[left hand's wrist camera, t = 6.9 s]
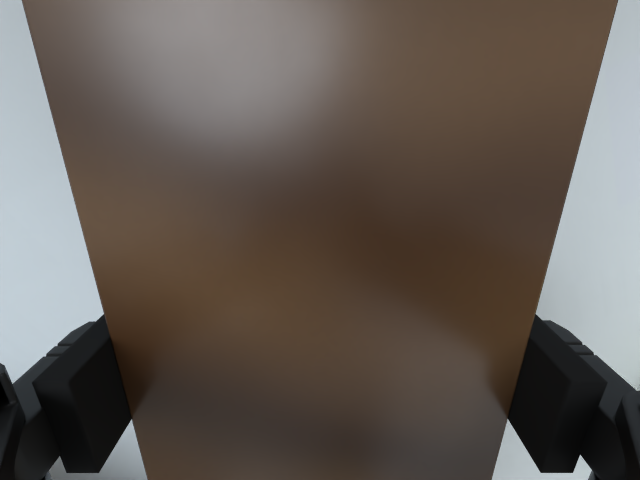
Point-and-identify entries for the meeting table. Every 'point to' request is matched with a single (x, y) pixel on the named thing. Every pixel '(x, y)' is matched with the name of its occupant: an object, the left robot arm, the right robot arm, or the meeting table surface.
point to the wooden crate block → (319, 218)
